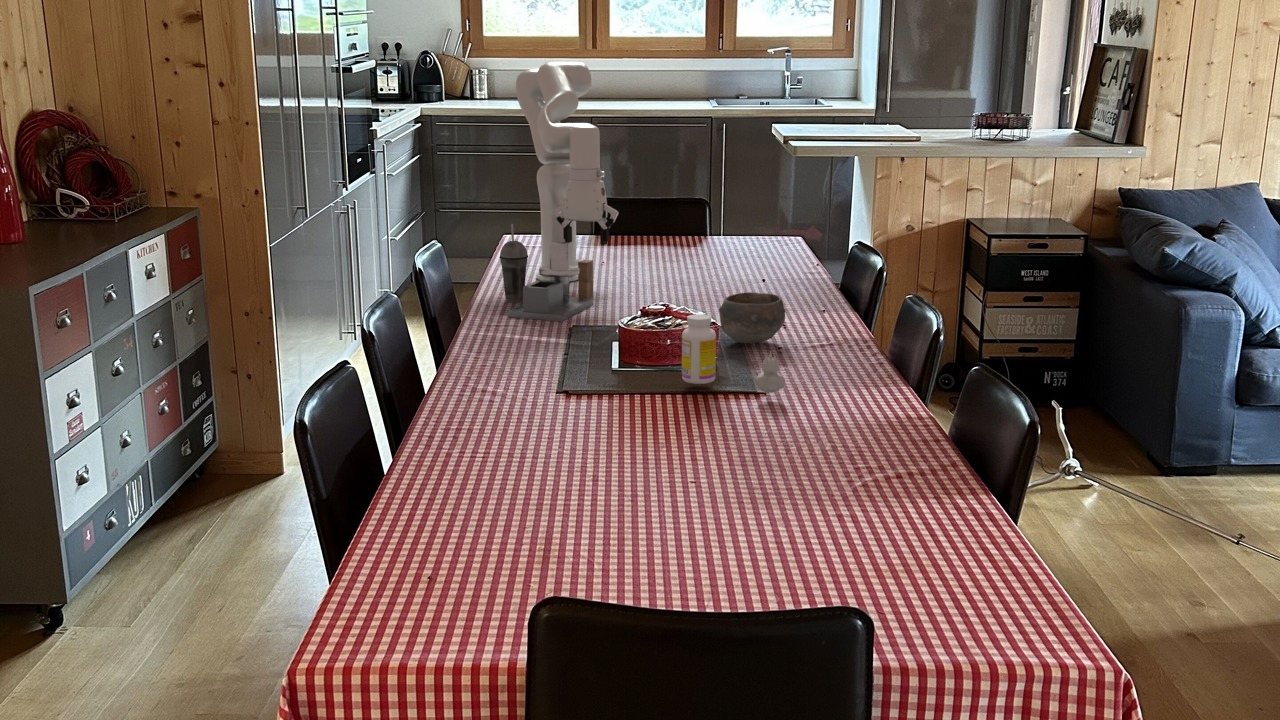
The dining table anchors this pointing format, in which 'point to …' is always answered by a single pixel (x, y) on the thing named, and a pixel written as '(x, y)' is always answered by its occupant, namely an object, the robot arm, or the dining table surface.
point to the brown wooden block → (585, 279)
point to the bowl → (752, 316)
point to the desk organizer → (552, 290)
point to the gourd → (770, 376)
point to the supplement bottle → (698, 350)
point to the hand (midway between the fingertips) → (586, 243)
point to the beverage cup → (513, 269)
